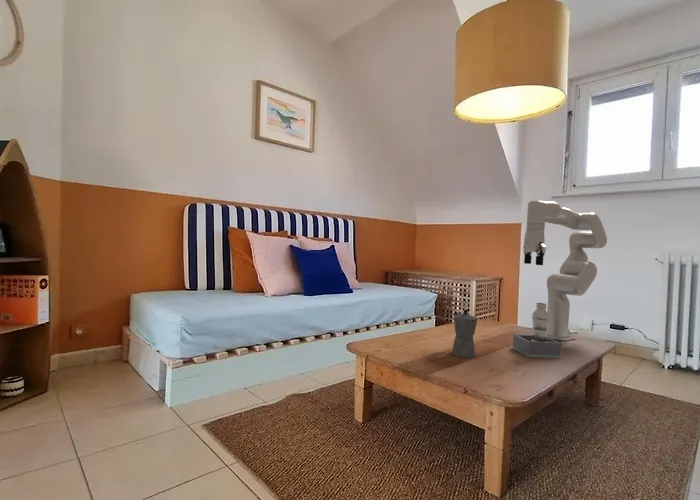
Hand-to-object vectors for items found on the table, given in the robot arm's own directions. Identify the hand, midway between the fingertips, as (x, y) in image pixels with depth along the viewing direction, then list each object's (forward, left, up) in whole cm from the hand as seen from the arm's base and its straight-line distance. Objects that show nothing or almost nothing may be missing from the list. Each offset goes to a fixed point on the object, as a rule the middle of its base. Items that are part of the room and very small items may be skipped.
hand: (533, 264), depth 174 cm
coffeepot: (+40, +22, -36) cm, 58 cm away
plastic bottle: (+7, +19, -36) cm, 41 cm away
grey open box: (+7, +18, -36) cm, 41 cm away
